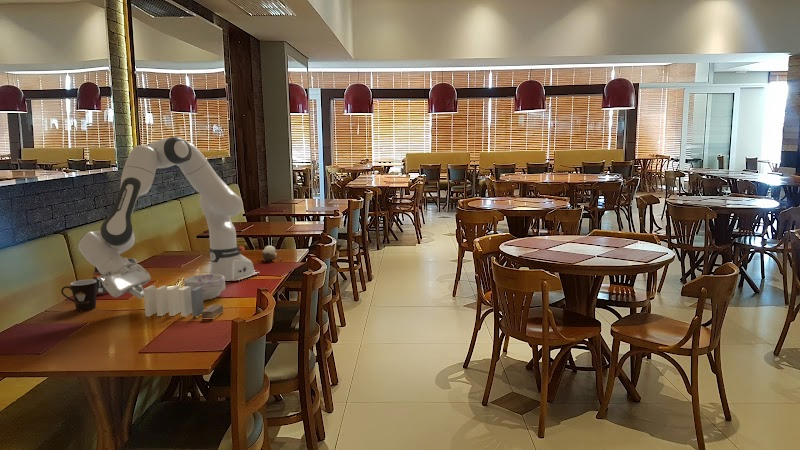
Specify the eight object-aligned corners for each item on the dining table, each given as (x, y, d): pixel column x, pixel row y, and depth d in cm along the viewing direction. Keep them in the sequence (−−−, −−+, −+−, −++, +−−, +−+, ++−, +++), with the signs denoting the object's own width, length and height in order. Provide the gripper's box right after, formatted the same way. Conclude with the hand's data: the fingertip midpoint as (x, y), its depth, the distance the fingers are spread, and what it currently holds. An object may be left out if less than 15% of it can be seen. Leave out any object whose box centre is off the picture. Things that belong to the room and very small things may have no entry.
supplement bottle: (104, 295, 240) (101, 267, 238) (91, 294, 241) (88, 267, 239) (113, 291, 246) (111, 264, 244) (101, 290, 247) (98, 264, 245)
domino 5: (193, 318, 209) (191, 290, 208) (199, 313, 214) (198, 286, 212) (197, 318, 209) (195, 290, 207) (204, 313, 214) (202, 286, 212)
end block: (202, 319, 207) (201, 311, 207) (212, 312, 215) (212, 304, 214) (213, 320, 206) (212, 311, 206) (223, 313, 214) (222, 305, 214)
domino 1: (145, 316, 212) (143, 288, 210) (153, 312, 217) (151, 285, 215) (149, 316, 212) (147, 289, 210) (157, 312, 217) (155, 285, 215)
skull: (260, 255, 307) (272, 241, 306) (275, 269, 308) (287, 254, 306) (252, 260, 295) (265, 244, 294) (268, 274, 296) (281, 258, 294)
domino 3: (169, 317, 211) (167, 289, 209) (176, 312, 215) (174, 285, 214) (173, 317, 210) (171, 289, 209) (180, 313, 215) (178, 286, 214)
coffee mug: (104, 306, 225) (101, 280, 223) (85, 312, 217) (83, 286, 215) (80, 303, 229) (77, 278, 227) (61, 310, 221) (58, 283, 219)
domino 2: (157, 316, 211) (155, 289, 210) (165, 312, 216) (162, 285, 215) (161, 316, 211) (159, 289, 209) (169, 312, 216) (167, 285, 214)
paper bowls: (214, 290, 246) (213, 271, 244) (233, 297, 235) (231, 277, 234) (178, 297, 235) (177, 278, 234) (196, 305, 224) (195, 284, 223)
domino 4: (181, 317, 210) (179, 290, 208) (188, 313, 215) (186, 286, 213) (185, 317, 210) (183, 290, 208) (192, 313, 215) (190, 286, 213)
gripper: (102, 270, 203) (131, 299, 203) (137, 257, 223) (163, 283, 223) (91, 282, 204) (120, 311, 204) (127, 269, 224) (153, 295, 224)
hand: (143, 296), depth 214 cm, fingers closed
